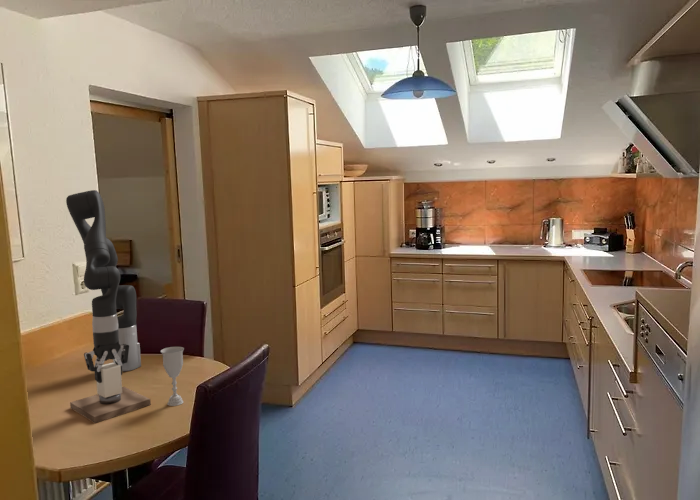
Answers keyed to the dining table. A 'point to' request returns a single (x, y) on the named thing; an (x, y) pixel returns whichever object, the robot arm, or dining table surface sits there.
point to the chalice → (173, 370)
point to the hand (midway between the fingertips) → (109, 379)
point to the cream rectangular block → (110, 380)
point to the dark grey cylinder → (110, 399)
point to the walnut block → (109, 405)
